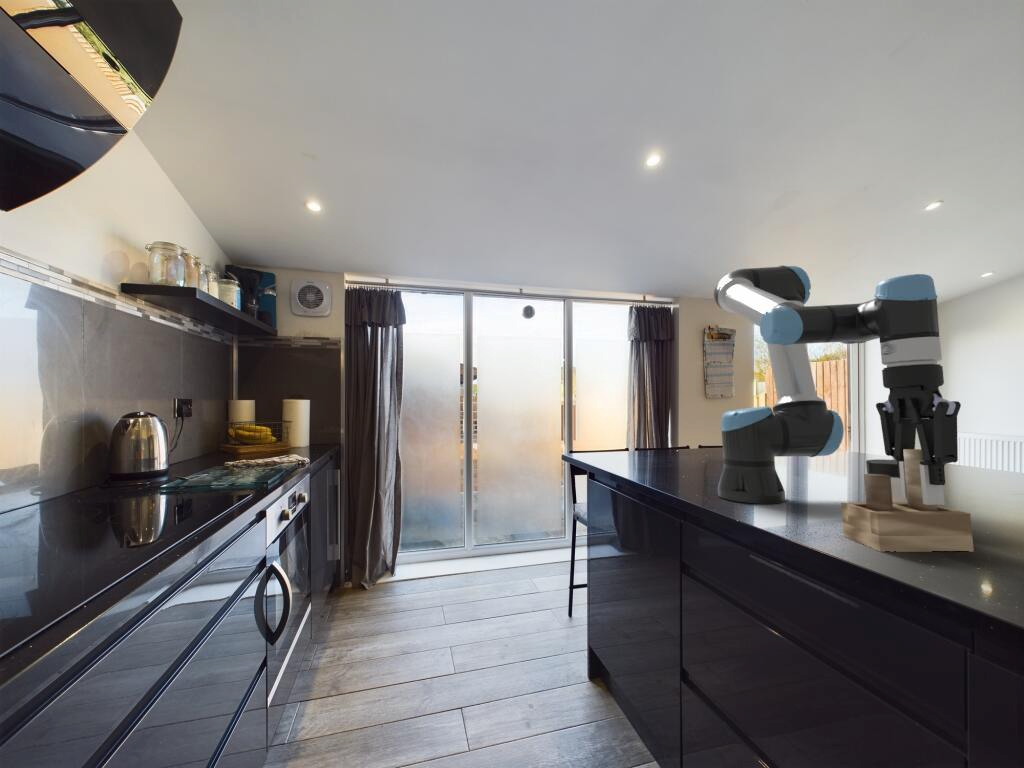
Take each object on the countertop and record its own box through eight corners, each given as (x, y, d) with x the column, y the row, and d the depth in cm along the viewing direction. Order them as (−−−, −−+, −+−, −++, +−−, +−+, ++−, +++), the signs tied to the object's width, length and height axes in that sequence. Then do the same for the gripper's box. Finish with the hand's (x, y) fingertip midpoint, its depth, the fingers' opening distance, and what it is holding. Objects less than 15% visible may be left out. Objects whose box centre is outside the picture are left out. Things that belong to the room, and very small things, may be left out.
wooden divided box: (843, 536, 73) (840, 502, 74) (926, 536, 72) (923, 502, 73) (880, 551, 65) (877, 513, 66) (973, 551, 64) (970, 513, 65)
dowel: (903, 518, 71) (897, 449, 71) (925, 518, 70) (919, 448, 71) (922, 524, 67) (916, 451, 68) (945, 524, 67) (939, 451, 68)
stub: (862, 525, 71) (858, 473, 72) (883, 525, 71) (879, 473, 71) (878, 531, 68) (874, 477, 68) (900, 531, 67) (896, 476, 68)
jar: (919, 531, 75) (914, 466, 76) (863, 521, 82) (859, 461, 83) (932, 522, 80) (926, 461, 81) (878, 514, 87) (874, 458, 88)
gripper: (852, 370, 79) (861, 491, 77) (932, 360, 63) (946, 514, 61) (893, 368, 78) (903, 491, 77) (985, 358, 62) (1000, 513, 61)
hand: (922, 501), depth 69 cm, fingers closed on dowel, 3 cm apart
